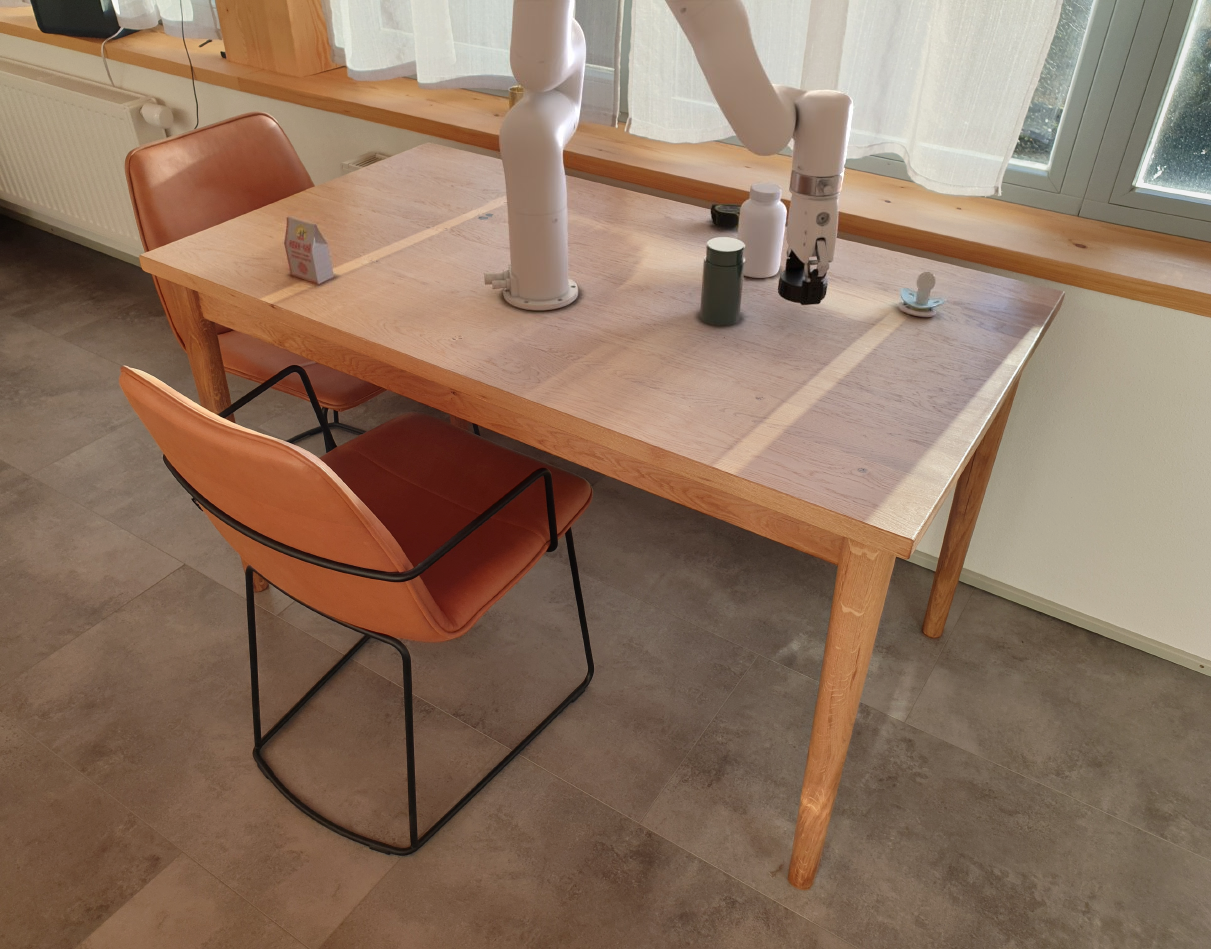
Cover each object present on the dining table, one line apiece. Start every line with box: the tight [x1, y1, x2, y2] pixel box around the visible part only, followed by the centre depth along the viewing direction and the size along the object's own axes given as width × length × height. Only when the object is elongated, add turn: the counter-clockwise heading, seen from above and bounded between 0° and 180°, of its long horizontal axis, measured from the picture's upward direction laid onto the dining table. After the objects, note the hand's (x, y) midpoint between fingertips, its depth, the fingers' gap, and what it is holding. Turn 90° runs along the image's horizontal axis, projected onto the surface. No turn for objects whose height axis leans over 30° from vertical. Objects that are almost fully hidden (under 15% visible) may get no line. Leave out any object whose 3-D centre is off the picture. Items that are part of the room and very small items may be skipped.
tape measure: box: [710, 203, 742, 230], centre depth 182 cm, size 7×7×4 cm
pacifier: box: [896, 271, 947, 318], centre depth 152 cm, size 7×6×6 cm
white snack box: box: [283, 216, 335, 285], centre depth 161 cm, size 4×7×10 cm, turn 58°
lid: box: [777, 268, 829, 304], centre depth 147 cm, size 8×8×3 cm
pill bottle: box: [736, 181, 788, 279], centre depth 162 cm, size 8×8×15 cm
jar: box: [699, 236, 745, 327], centre depth 148 cm, size 6×6×12 cm
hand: (801, 291), depth 148 cm, fingers closed on lid, 7 cm apart
